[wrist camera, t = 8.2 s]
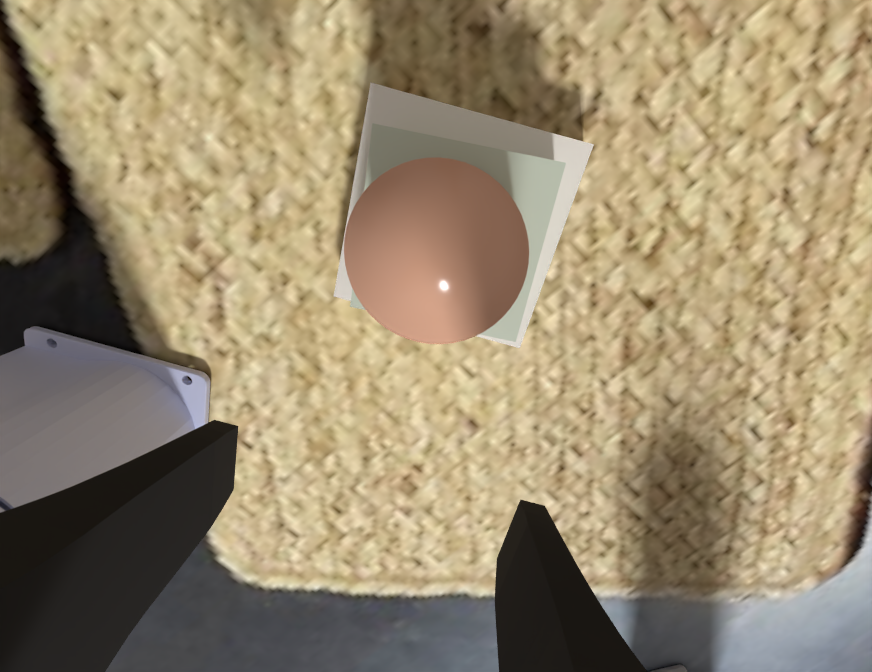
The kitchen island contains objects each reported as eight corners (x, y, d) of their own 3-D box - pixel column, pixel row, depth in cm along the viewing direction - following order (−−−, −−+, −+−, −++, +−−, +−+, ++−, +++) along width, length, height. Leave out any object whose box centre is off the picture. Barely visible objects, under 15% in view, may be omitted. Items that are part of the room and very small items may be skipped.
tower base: (350, 280, 21) (333, 296, 18) (385, 92, 18) (370, 82, 15) (516, 327, 21) (519, 348, 18) (579, 146, 18) (593, 144, 15)
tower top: (367, 287, 18) (350, 306, 16) (388, 128, 16) (372, 123, 14) (511, 318, 18) (515, 342, 16) (554, 162, 16) (566, 162, 13)
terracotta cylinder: (370, 287, 15) (335, 324, 12) (389, 149, 14) (355, 140, 10) (499, 314, 15) (504, 359, 12) (533, 176, 14) (551, 178, 10)
